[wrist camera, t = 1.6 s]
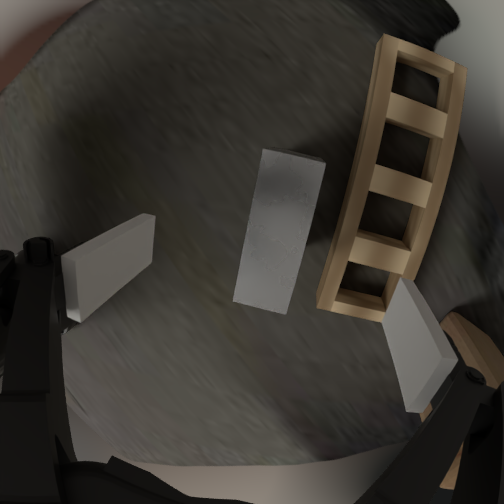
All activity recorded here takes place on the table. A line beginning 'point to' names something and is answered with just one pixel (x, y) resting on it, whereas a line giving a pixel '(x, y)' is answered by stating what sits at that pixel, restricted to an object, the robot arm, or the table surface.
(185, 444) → the table surface
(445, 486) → the wooden block
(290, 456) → the table surface
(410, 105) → the rail
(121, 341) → the table surface
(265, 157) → the grey concrete brick
